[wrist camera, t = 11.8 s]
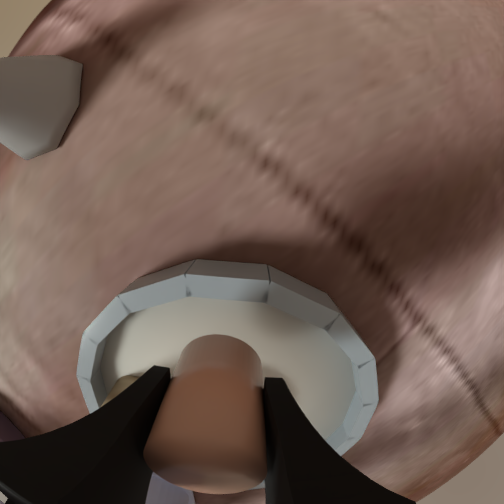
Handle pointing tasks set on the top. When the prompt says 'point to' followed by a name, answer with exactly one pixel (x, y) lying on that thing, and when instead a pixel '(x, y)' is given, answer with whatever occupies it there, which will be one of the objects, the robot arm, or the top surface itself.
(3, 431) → the flask
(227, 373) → the peach rounded cylinder
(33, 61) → the flask
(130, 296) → the groove tray
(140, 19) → the top surface
